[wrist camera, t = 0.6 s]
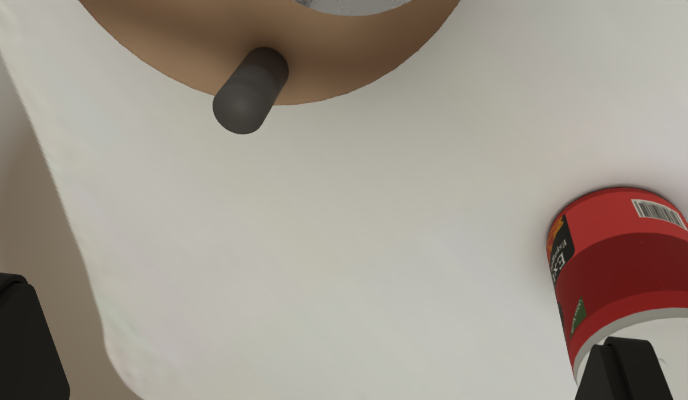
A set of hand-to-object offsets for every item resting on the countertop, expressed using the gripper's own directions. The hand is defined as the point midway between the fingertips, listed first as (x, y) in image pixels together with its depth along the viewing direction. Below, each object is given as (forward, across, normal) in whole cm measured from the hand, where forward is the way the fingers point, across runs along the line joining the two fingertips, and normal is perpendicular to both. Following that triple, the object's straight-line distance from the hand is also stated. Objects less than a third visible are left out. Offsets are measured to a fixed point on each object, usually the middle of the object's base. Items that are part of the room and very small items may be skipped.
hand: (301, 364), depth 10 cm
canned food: (+25, -14, +14) cm, 32 cm away
